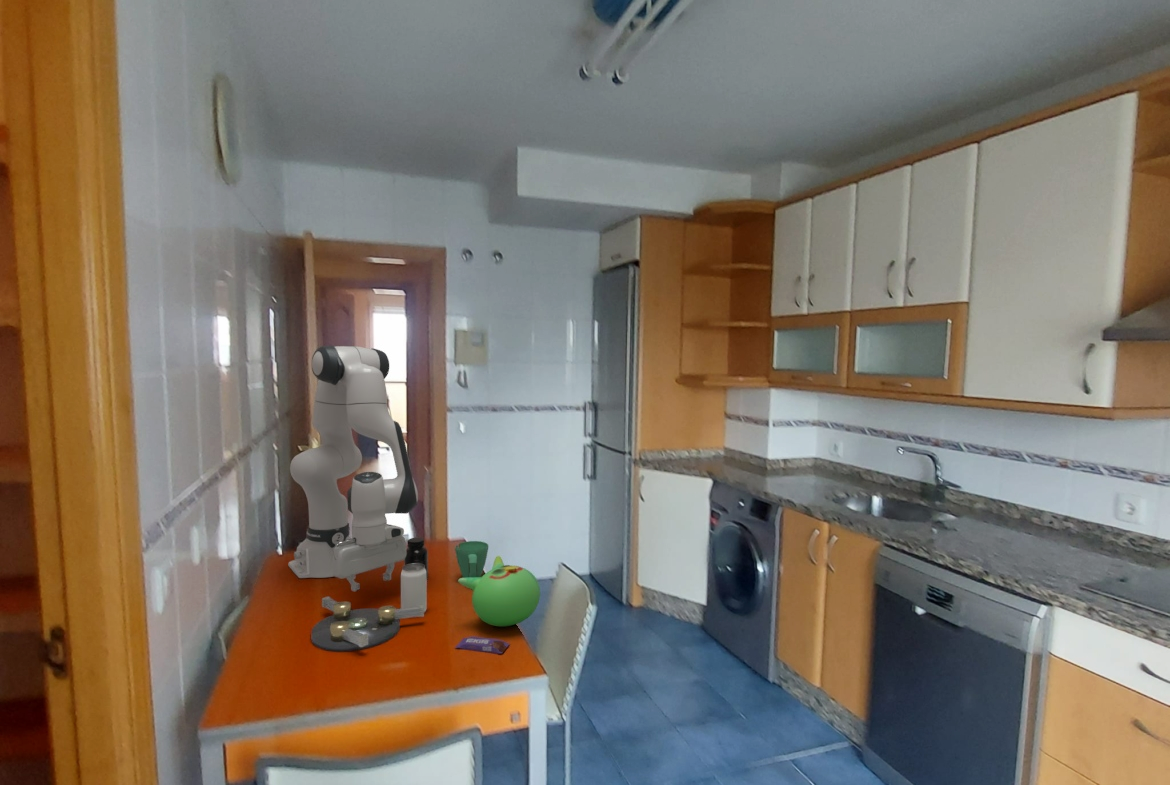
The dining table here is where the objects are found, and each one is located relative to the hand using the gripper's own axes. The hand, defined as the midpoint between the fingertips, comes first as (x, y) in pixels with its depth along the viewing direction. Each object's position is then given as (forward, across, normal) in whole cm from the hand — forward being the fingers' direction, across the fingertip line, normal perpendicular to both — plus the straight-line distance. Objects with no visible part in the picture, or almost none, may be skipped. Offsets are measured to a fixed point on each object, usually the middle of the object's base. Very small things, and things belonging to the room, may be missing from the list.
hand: (371, 585), depth 165 cm
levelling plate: (+6, -11, -12) cm, 17 cm away
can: (+6, +5, -12) cm, 14 cm away
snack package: (+8, +3, -40) cm, 41 cm away
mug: (+6, +29, -7) cm, 30 cm away
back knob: (+4, -11, -1) cm, 12 cm away
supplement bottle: (+6, +19, +8) cm, 21 cm away
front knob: (+4, -17, -18) cm, 25 cm away
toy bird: (+7, +16, -34) cm, 38 cm away
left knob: (+4, -3, -17) cm, 18 cm away
